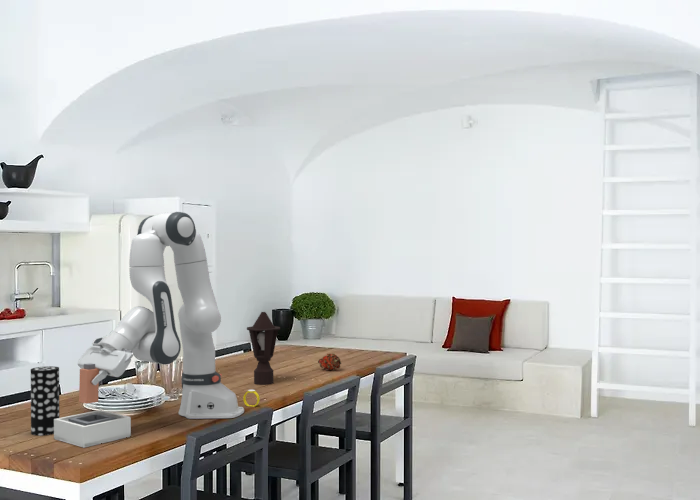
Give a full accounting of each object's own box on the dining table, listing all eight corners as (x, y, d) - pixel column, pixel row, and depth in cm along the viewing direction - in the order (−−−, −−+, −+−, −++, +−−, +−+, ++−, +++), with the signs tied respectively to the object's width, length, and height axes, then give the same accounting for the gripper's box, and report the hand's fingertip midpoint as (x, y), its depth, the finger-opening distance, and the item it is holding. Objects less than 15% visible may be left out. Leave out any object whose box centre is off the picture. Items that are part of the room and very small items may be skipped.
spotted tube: (63, 428, 242) (62, 366, 242) (54, 435, 234) (53, 370, 233) (37, 429, 242) (36, 366, 241) (26, 435, 233) (26, 370, 233)
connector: (90, 400, 233) (91, 362, 233) (98, 401, 231) (99, 364, 231) (79, 401, 230) (79, 364, 230) (86, 403, 227) (87, 365, 228)
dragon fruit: (341, 375, 346) (319, 376, 352) (347, 362, 353) (326, 363, 359) (333, 361, 342) (311, 363, 349) (340, 348, 349) (318, 350, 355)
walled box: (100, 428, 242) (100, 409, 242) (130, 436, 232) (130, 416, 232) (54, 438, 229) (53, 419, 229) (84, 447, 219) (83, 427, 219)
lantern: (284, 380, 326) (284, 310, 325) (277, 386, 311) (277, 313, 310) (250, 379, 327) (250, 310, 327) (242, 386, 312) (241, 313, 312)
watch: (260, 406, 275) (261, 390, 275) (256, 408, 272) (257, 392, 272) (245, 404, 277) (246, 388, 277) (241, 406, 274) (242, 389, 274)
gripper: (141, 357, 233) (113, 393, 225) (103, 351, 246) (75, 385, 238) (129, 344, 229) (100, 380, 222) (91, 338, 242) (62, 372, 234)
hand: (87, 382), depth 230 cm, fingers closed on connector, 4 cm apart
